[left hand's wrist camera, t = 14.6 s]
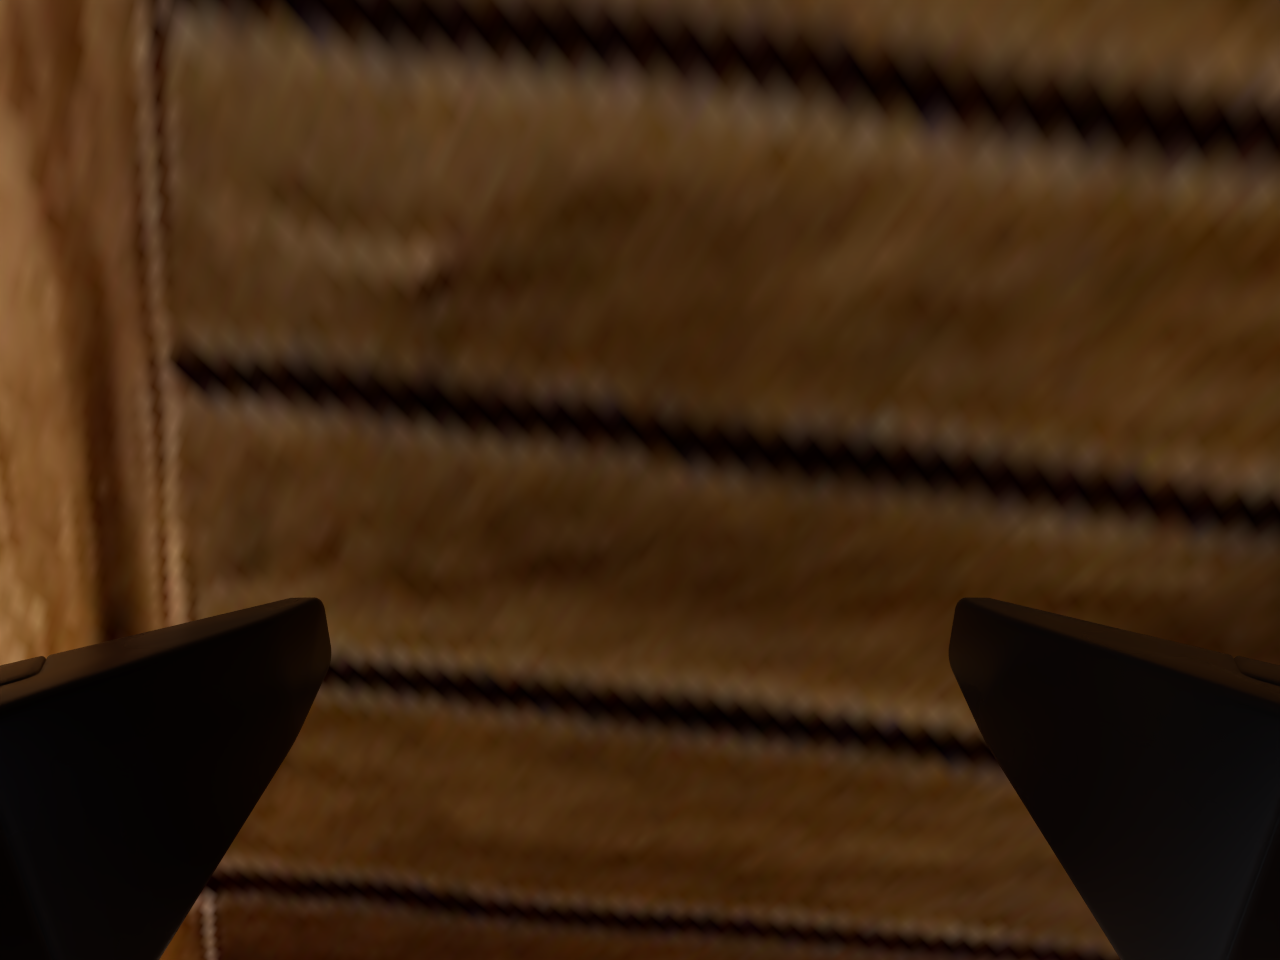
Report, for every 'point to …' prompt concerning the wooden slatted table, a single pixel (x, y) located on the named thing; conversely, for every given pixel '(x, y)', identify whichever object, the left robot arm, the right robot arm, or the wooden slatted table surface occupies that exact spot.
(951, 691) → the wooden slatted table surface
